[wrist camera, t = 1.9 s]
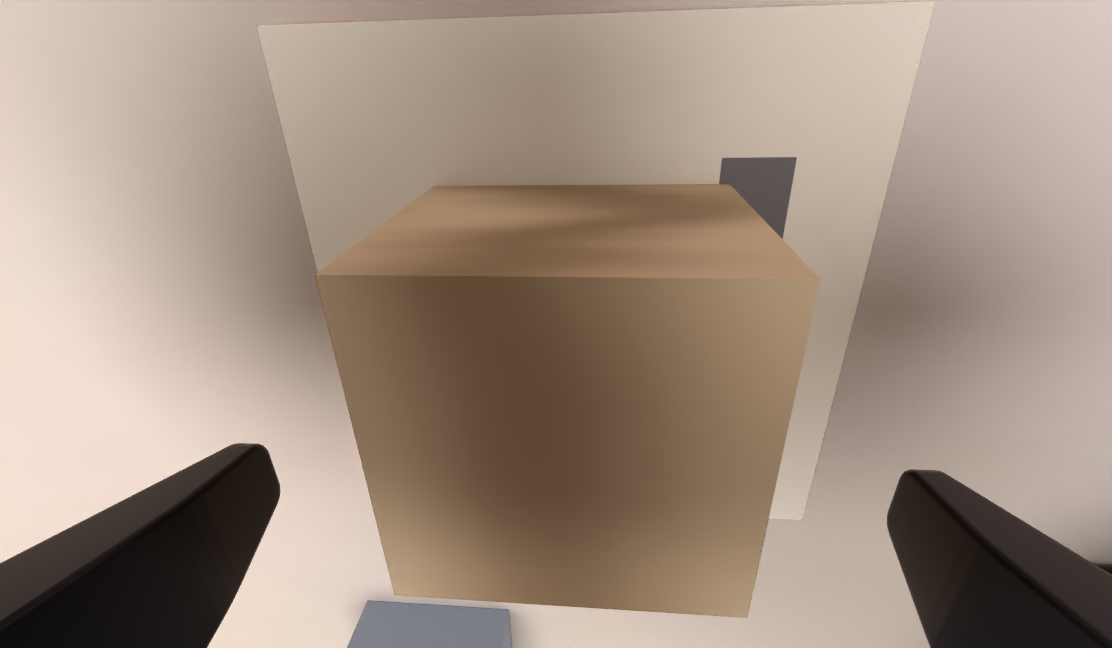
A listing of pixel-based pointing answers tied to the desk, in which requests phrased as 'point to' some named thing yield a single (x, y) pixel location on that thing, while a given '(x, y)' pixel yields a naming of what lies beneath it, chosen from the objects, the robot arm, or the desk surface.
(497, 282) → the light oak block
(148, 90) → the desk surface
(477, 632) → the slate blue cube
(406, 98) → the board
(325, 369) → the desk surface
